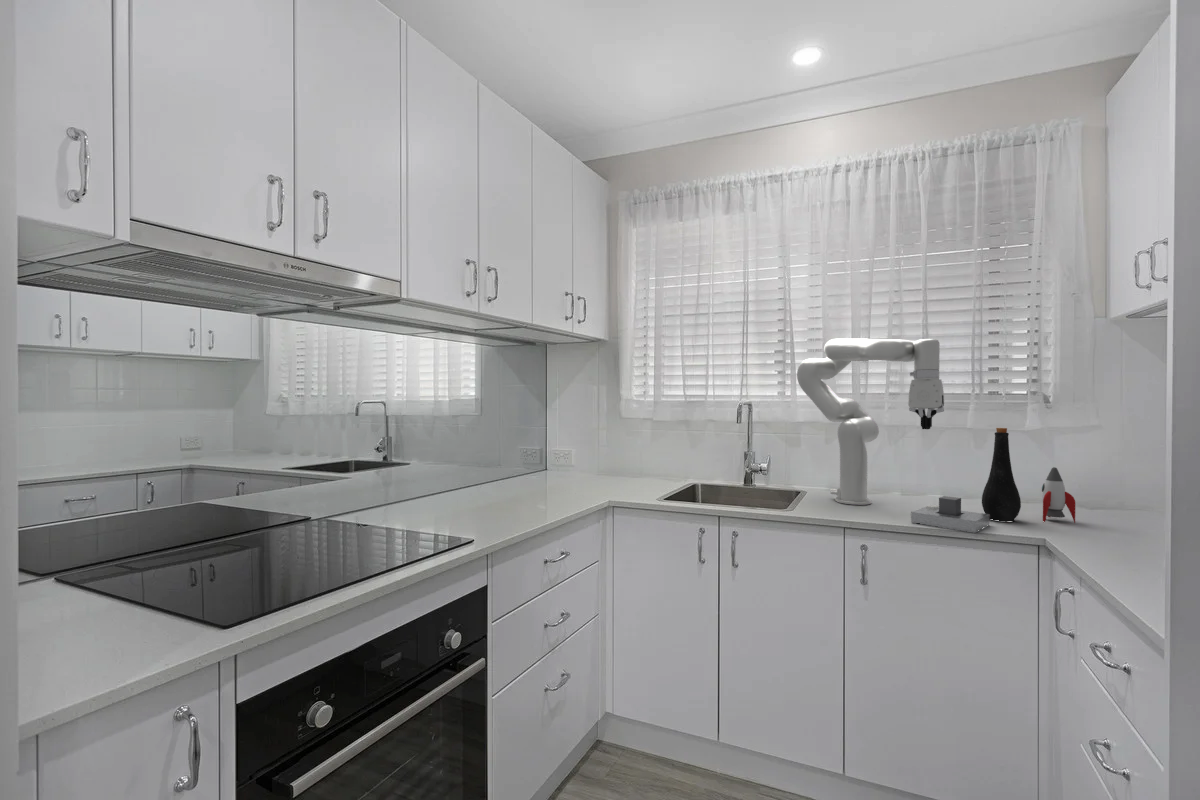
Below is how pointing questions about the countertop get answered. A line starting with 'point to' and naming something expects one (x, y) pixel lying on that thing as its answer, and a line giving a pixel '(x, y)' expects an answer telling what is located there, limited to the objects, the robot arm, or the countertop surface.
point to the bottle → (1001, 483)
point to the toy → (1056, 496)
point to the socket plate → (950, 519)
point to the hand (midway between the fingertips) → (926, 429)
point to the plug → (950, 506)
